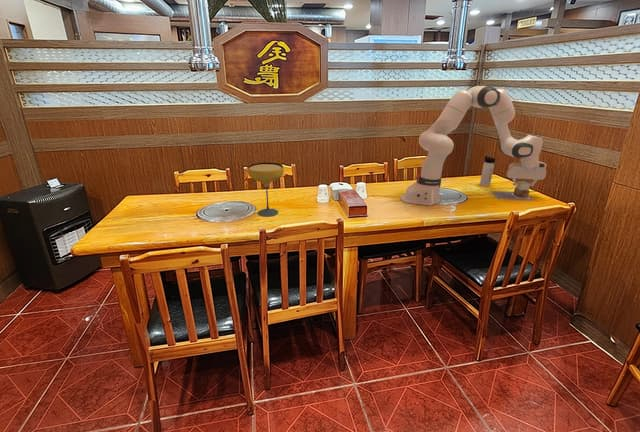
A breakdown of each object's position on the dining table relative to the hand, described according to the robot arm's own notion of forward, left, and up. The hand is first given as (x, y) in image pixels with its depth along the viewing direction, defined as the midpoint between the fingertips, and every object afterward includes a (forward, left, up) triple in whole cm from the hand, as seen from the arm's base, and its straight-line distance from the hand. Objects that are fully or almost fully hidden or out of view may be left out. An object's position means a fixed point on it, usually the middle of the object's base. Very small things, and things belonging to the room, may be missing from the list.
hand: (523, 185), depth 205 cm
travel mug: (-15, +19, -8) cm, 26 cm away
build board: (-5, 0, -8) cm, 9 cm away
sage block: (0, 0, -2) cm, 2 cm away
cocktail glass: (-143, -48, -8) cm, 151 cm away
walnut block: (0, 0, -6) cm, 6 cm away
